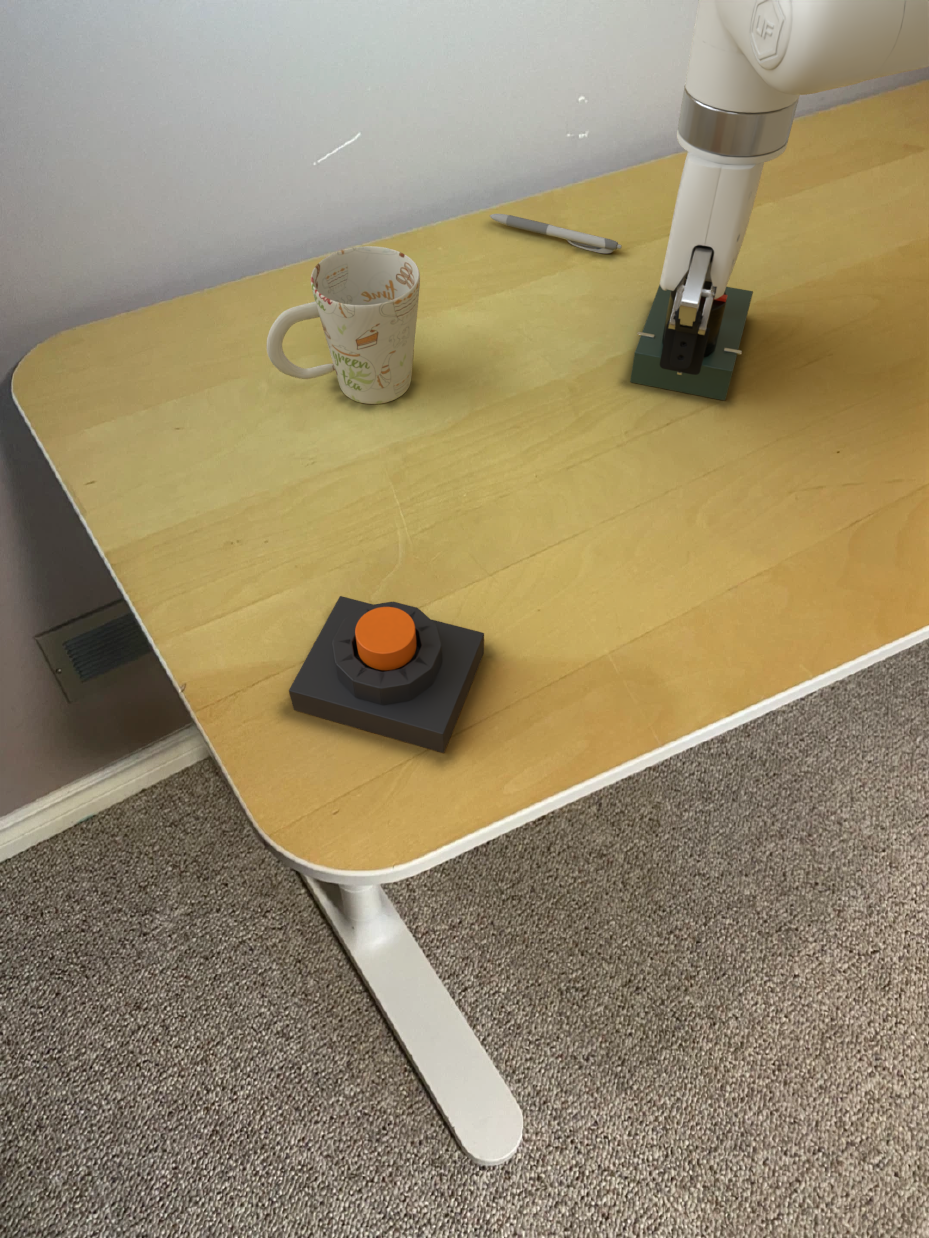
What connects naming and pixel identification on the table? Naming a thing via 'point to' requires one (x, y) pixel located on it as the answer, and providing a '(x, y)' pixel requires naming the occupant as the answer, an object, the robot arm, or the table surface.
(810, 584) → the table surface
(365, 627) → the round orange button
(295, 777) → the table surface
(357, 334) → the mug
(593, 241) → the pen
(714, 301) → the dial
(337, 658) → the push button box
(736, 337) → the dial panel
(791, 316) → the table surface
